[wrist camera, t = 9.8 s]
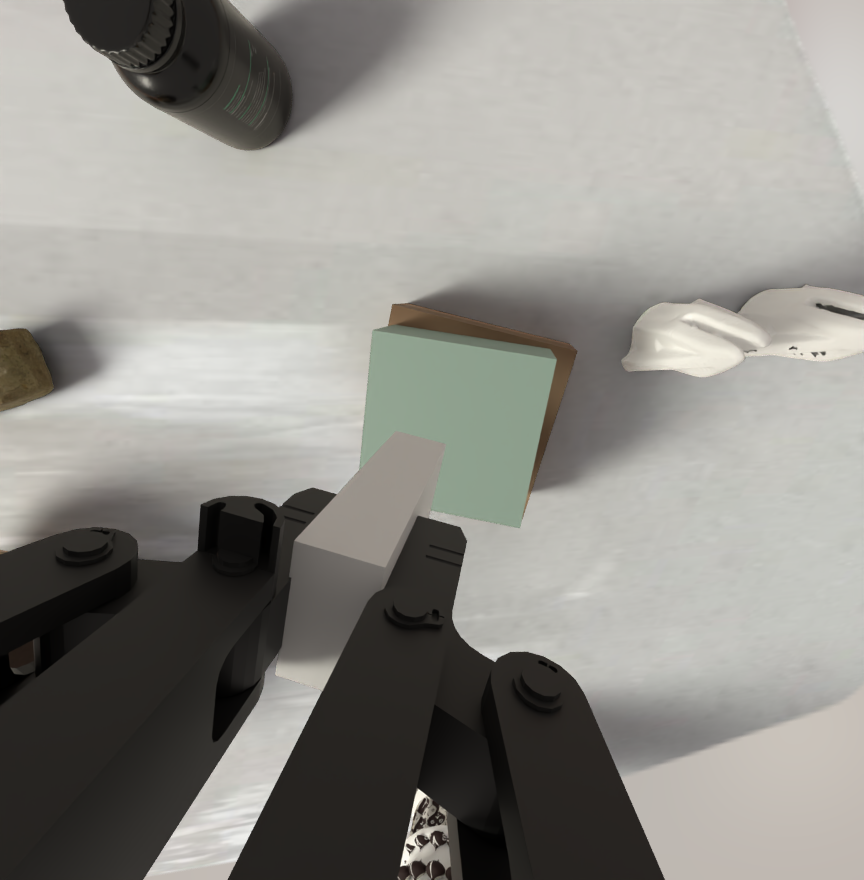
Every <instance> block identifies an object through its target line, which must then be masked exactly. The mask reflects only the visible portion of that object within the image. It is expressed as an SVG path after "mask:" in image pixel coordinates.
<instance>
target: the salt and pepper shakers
mask: <svg viewBox="0 0 864 880" xmlns="http://www.w3.org/2000/svg"><path fill="white" fill-rule="evenodd" d="M862 352H864V296H863V295H859V294H855V293H850V292H846V291H841V290H837V289H832V288H819V287H813V286H808V284H806V285H804V286H803V287H802V288H789V289H768V290H765V291H762V292H760V293H759V294H757V295H754V296H753V297H752V298H750V299H749V301H748V302H747V303H745V305H744V306H743V307H742V308H741V311H739V312H738V313H735V312H732V311H730V310H728V309H725V308H723V307H720V306H717V305H715V304H712V303H709V302H706V301H703V300H702V299H698V300H696V301H694V302H693V303H690V304H683V303H682V304H679V303H677V304H672V303H667V302H663V303H660V304H657V305H654V306H652V307H651V308H649V309H647V310H646V311H645V312H644V313H643V314H642V315H641V317H640V318H639V319H638V320H637V322H636V324H635V325H634V327H633V331H632V342H631V347H630V351H629V353H628V355H627V356H626V357H624V358H623V359H622V361H621V363H622V365H623V367H624V369H625V370H626V371H628V372H632V371H650V370H675V371H679V372H682V373H686V374H689V375H692V376H697V377H702V378H704V377H709V376H713V375H716V374H719V373H722V372H725V371H727V370H729V369H731V368H733V367H735V366H737V365H738V364H740V363H742V362H743V361H744V360H745V357H750V356H766V355H777V356H783V357H790V358H796V359H804V360H811V361H832V360H837V359H842V358H846V357H849V356H853V355H856V354H860V353H862Z"/></svg>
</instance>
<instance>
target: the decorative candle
mask: <svg viewBox="0 0 864 880" xmlns="http://www.w3.org/2000/svg"><path fill="white" fill-rule="evenodd" d="M412 818H413V823H412V827H411V831H410V836H409V837H408V838H407V839H406V841H405V846H404V851H403V856H402V860H401V865H400V870H399V875H398V879H397V880H452V876H451V864H450V852H449V839H448V827H447V811H446V810H445V809H444V808H443V807H441V806H440V805H439V804H437V803H436V802H435V801H433V800H432V799H431V798H430V797H428V796H427V795H426V794H424V793H423V792H422V791H420V790H419V789H418V788H417V789H416V794H415V800H414V805H413V810H412Z"/></svg>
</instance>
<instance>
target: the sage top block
mask: <svg viewBox="0 0 864 880" xmlns="http://www.w3.org/2000/svg"><path fill="white" fill-rule="evenodd" d="M556 361H557V359H556V357H555V356H554V354H553V352H552V351H551V349H548V348H541V347H535V346H528V345H522V344H516V343H509V342H503V341H496V340H490V339H484V338H477V337H471V336H464V335H458V334H452V333H445V332H439V331H432V330H426V329H420V328H413V327H407V326H400V325H391V326H387V327H383V328H379V329H375V330H373V331H372V342H371V352H370V363H369V373H368V384H367V394H366V405H365V415H364V426H363V436H362V447H361V457H360V468H359V470H360V469H361V468H362V467H363V466H364V465H365V464H366V463H367V462H368V460H369V459H370V458H371V457H372V456H373V455H374V454H375V453H376V452H377V451H378V450H379V449H380V447H381V446H382V445H383V444H384V443H385V442H386V441H387V440H388V439H389V438H390V437H391V436H392V435H393V433H394V432H395V431H398V432H402V433H406V434H410V435H414V436H417V437H421V438H425V439H429V440H433V441H436V442H440V443H444V444H446V448H445V452H444V456H443V460H442V464H441V469H440V473H439V477H438V481H437V485H436V489H435V494H434V498H433V502H432V506H431V511H436V512H441V513H446V514H451V515H456V516H461V517H466V518H471V519H476V520H481V521H486V522H491V523H496V524H501V525H506V526H511V527H516V528H520V526H521V521H522V516H523V512H524V507H525V503H526V498H527V494H528V489H529V484H530V480H531V475H532V471H533V466H534V462H535V457H536V452H537V448H538V443H539V439H540V434H541V430H542V425H543V420H544V416H545V411H546V407H547V402H548V398H549V393H550V388H551V384H552V379H553V375H554V370H555V366H556Z"/></svg>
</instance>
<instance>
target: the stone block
mask: <svg viewBox="0 0 864 880" xmlns="http://www.w3.org/2000/svg"><path fill="white" fill-rule="evenodd" d="M53 388H54V386H53V382H52V377H51V374H50V372H49V369H48V367H47V365H46V363H45V360H44V358H43V355H42V351H41V349H40V347H39V346H38V344H37V343H36V342H35V340H34V339H33V337H32V335H31V333H30V332H29V331H28V330H27V329H10V330H0V411H3V410H7V409H10V408H14V407H17V406H20V405H24V404H25V403H27V402H29V401H32V400H34V399H37V398H40V397H42V396H45V395H47V394H48V393H50V392H51V391H52V390H53Z"/></svg>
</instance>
